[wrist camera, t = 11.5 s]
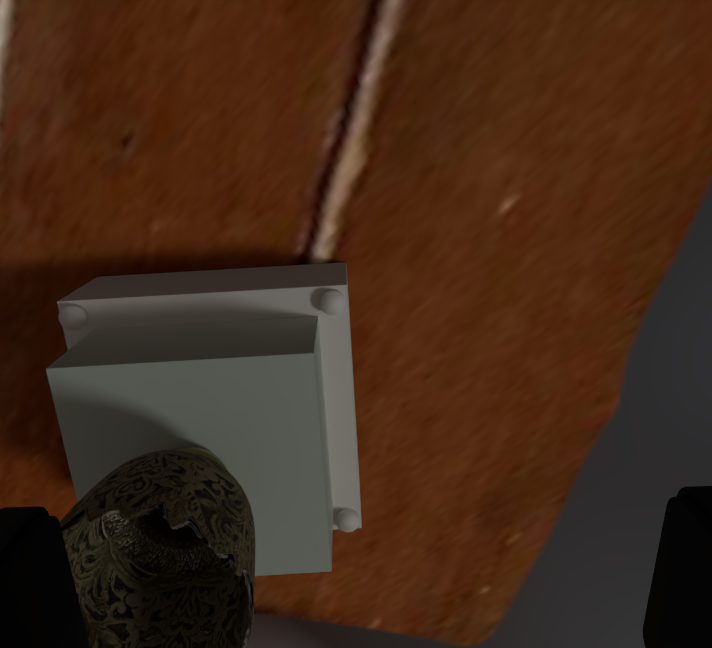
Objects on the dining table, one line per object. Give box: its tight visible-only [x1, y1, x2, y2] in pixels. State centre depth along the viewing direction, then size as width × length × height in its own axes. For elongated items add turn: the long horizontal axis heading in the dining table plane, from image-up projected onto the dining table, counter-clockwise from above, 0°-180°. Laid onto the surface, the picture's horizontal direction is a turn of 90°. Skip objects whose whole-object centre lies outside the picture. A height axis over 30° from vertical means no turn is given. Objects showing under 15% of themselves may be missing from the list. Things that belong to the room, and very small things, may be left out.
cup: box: [59, 446, 255, 648], centre depth 22 cm, size 8×7×8 cm
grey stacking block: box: [46, 262, 362, 576], centre depth 31 cm, size 14×14×10 cm
